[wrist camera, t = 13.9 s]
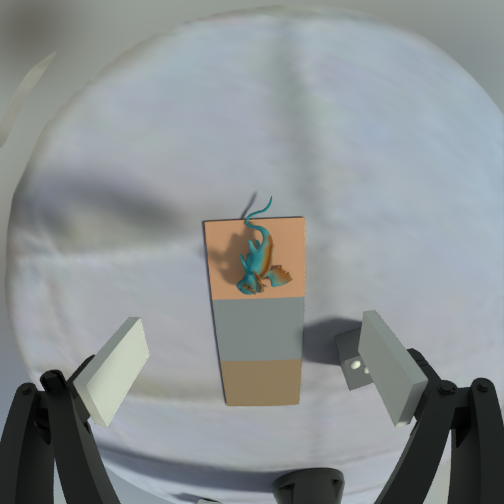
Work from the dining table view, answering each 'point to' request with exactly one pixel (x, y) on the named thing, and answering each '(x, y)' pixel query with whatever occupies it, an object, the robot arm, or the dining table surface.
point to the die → (352, 360)
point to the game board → (258, 312)
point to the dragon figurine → (260, 263)
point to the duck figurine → (207, 502)
